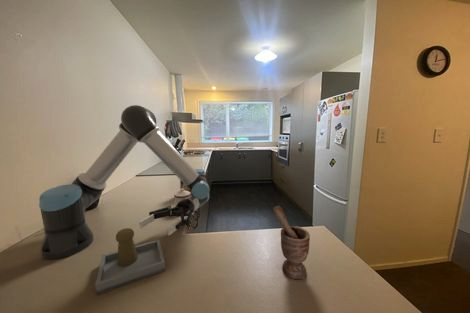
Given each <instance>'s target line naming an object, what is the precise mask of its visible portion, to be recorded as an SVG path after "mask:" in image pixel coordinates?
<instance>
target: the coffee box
mask: <svg viewBox="0 0 470 313" xmlns="http://www.w3.org/2000/svg"><path fill="white" fill-rule="evenodd" d="M179 188H180V189H179V191H180V190H181V189H184V190H185V191H189V192H190V193H191V190H190V189H189V188H188V187H187V186H186V185H185V184H184V183H183V182H182V181H181V180H180V179H179Z"/></svg>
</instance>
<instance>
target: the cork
mask: <svg viewBox="0 0 470 313" xmlns="http://www.w3.org/2000/svg"><path fill="white" fill-rule="evenodd" d="M134 235H135V231H134V230H133V229H132V228H131V227H125V228H122V229H120V230H118V231H117V233H116V235H115V240H116V242H117V244H118V245H117V251H118V261H117V264H118V266H119V267H126V266H129V265H131V264H133V263H134V262H135V261H136V260H137V259H138V256H137V252H136V249H135V246H136V245H135V241H134Z"/></svg>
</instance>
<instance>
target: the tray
mask: <svg viewBox="0 0 470 313" xmlns="http://www.w3.org/2000/svg"><path fill="white" fill-rule="evenodd" d="M135 249H136V252H137V256H138V259H137V260H136V261H135V262H134V263H133V264H131V265H129V266H126V267H119V266H118V264H117V261H118V250H116V251H114V252H109V253H106V254H102V256H101V258H100V262H99V263H100V264H99V268H98V271H97V272H98V273H97V276H96V280H95V285H94V288H95V294H96V296H98V294H99V295H101V294H104V293H107V292H109V290H110V291H112V290H115V289H117V288H118V289H119V288H122V287H123V286H126V285H129V284H132V283H135V282H138V281H140V280H142V279H146V278H148V277H152V276H154V275H157V274H160V273H162V272H165V271H166V263H165V262H166V261H165V258H164V254H163V249H162V246H161V241H160V239H157V240H152V241H149V242H145V243H142V244H138V245H135Z"/></svg>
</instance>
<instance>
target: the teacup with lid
mask: <svg viewBox="0 0 470 313" xmlns="http://www.w3.org/2000/svg"><path fill="white" fill-rule="evenodd" d="M190 195H191V193H190V192H189V191H185V190H184V189H181V190H180V189H179V191H176V192H175V193H174V194H173V196H174V207H176V206H177V204H178V203H179V202H180V201H182V200H184V199H185V198H187V197H189V196H190Z"/></svg>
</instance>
